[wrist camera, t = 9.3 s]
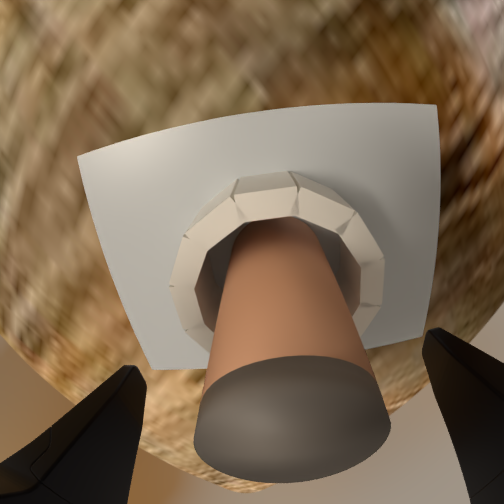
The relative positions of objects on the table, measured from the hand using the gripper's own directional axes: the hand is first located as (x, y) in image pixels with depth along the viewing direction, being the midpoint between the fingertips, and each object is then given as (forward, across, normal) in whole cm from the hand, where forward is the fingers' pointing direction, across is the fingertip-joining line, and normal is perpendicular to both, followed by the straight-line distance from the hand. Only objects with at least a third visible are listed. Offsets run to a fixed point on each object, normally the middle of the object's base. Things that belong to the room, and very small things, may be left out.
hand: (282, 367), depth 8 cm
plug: (+7, 0, 0) cm, 7 cm away
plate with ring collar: (+8, 0, 0) cm, 8 cm away
